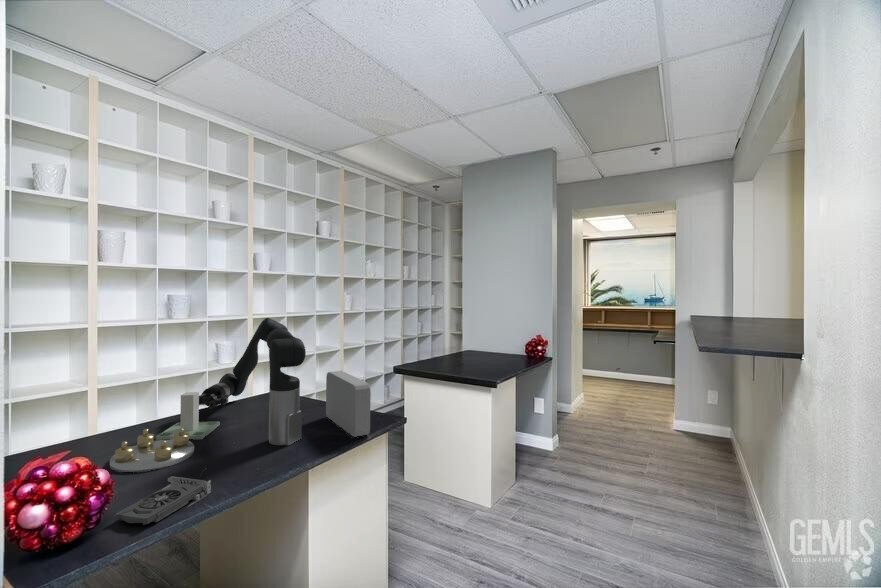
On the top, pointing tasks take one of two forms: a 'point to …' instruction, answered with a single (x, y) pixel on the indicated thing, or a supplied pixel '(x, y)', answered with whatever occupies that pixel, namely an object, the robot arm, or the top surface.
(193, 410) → the plate with upright post
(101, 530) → the top surface
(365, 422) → the gray rounded box
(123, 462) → the chassis
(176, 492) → the graphics card
